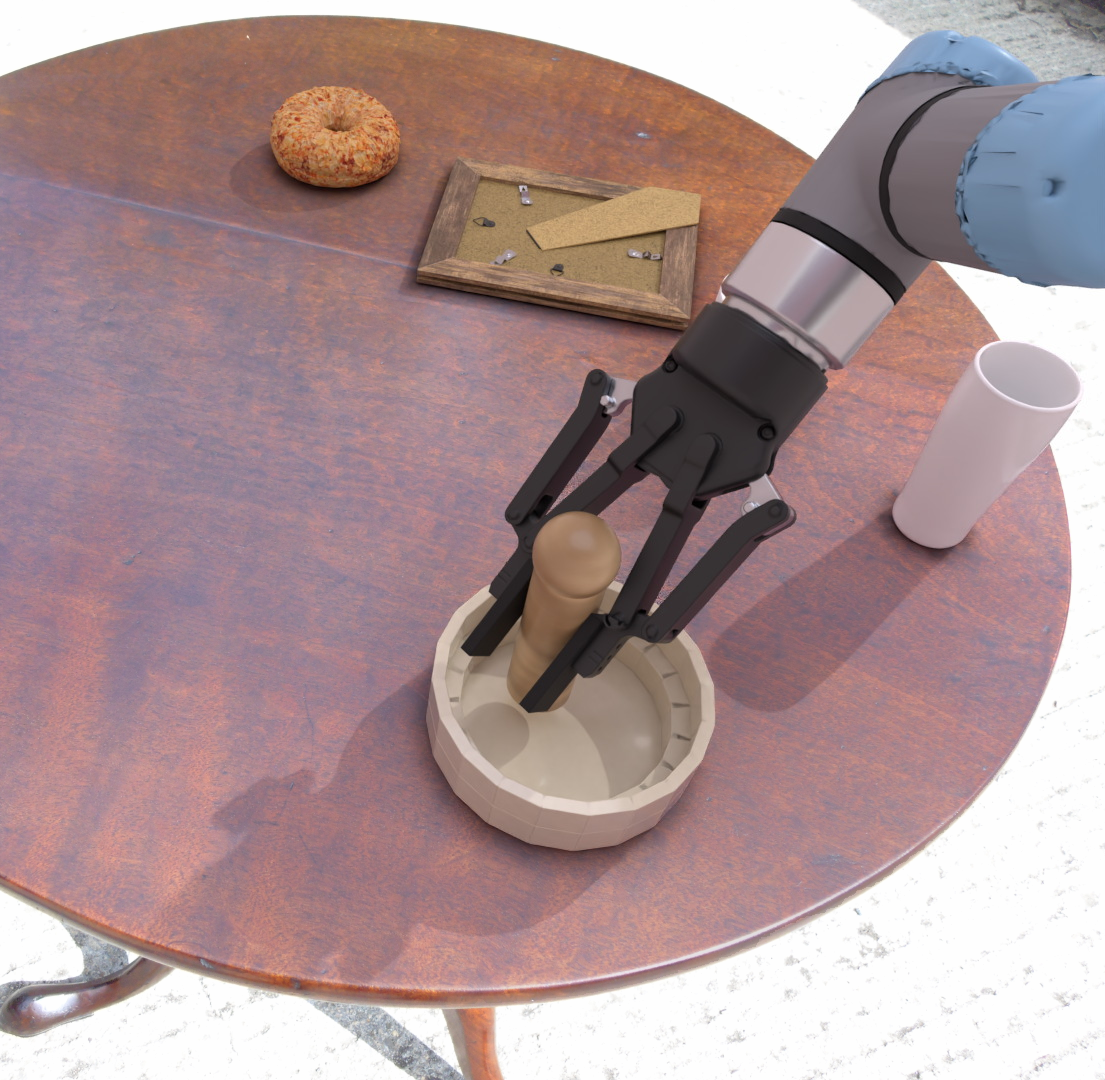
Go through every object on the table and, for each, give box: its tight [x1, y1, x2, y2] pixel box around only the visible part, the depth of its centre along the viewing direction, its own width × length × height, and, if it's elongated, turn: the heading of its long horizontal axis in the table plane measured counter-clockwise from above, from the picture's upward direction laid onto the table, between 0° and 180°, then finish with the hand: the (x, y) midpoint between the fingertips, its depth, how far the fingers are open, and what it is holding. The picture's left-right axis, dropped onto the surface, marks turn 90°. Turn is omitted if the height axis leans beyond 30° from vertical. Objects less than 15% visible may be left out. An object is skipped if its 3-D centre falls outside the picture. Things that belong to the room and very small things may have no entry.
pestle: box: [506, 511, 623, 713], centre depth 60 cm, size 5×5×15 cm
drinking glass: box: [891, 339, 1084, 549], centre depth 73 cm, size 7×7×15 cm
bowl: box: [425, 580, 716, 852], centre depth 65 cm, size 17×17×6 cm
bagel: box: [269, 85, 402, 189], centre depth 104 cm, size 13×14×5 cm
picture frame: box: [416, 155, 702, 332], centre depth 98 cm, size 19×2×24 cm
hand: (504, 678), depth 61 cm, fingers closed on pestle, 4 cm apart
